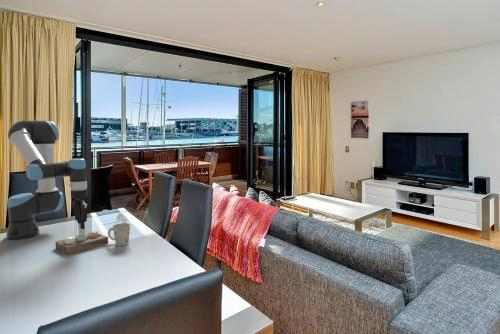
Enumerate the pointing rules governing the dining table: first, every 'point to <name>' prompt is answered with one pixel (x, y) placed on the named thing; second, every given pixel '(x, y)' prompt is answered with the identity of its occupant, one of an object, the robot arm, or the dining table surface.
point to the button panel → (81, 244)
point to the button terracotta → (93, 234)
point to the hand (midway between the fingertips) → (82, 234)
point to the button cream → (69, 240)
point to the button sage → (81, 237)
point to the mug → (120, 233)
